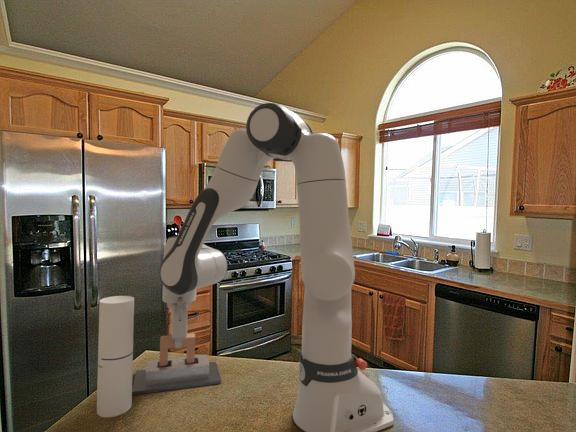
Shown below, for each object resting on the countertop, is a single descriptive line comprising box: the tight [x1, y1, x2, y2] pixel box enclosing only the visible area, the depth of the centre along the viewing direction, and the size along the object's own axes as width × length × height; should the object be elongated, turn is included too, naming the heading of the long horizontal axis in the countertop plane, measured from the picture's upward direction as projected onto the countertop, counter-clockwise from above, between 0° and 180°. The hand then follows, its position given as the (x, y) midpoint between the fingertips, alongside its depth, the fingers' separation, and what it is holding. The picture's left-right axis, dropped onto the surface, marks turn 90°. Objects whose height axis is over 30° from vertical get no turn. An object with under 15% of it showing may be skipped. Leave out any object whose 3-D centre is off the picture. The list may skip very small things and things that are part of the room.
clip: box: [159, 332, 196, 366], centre depth 93 cm, size 9×3×7 cm, turn 109°
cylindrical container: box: [96, 295, 135, 418], centre depth 78 cm, size 7×7×25 cm
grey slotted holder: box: [132, 354, 222, 396], centre depth 93 cm, size 22×12×4 cm, turn 109°
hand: (178, 344), depth 93 cm, fingers closed on clip, 3 cm apart
